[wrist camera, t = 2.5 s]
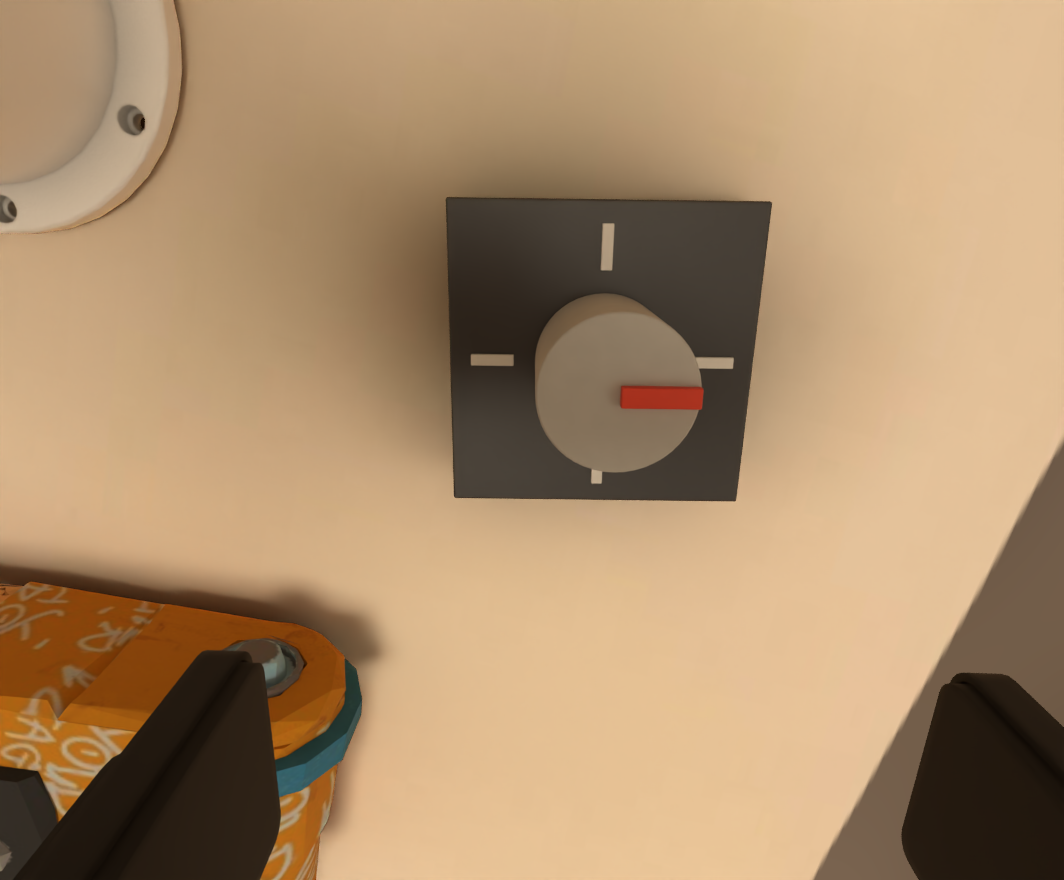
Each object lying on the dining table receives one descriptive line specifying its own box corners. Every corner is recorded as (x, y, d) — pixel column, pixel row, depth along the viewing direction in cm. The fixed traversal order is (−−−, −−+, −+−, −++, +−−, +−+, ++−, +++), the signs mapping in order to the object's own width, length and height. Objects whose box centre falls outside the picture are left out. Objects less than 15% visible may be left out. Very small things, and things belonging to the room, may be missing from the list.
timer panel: (456, 200, 23) (444, 197, 20) (743, 203, 23) (774, 201, 20) (462, 468, 26) (453, 500, 23) (714, 471, 26) (737, 503, 23)
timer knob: (534, 424, 22) (534, 476, 18) (536, 291, 21) (536, 312, 16) (663, 425, 22) (697, 478, 18) (674, 293, 21) (713, 314, 16)
